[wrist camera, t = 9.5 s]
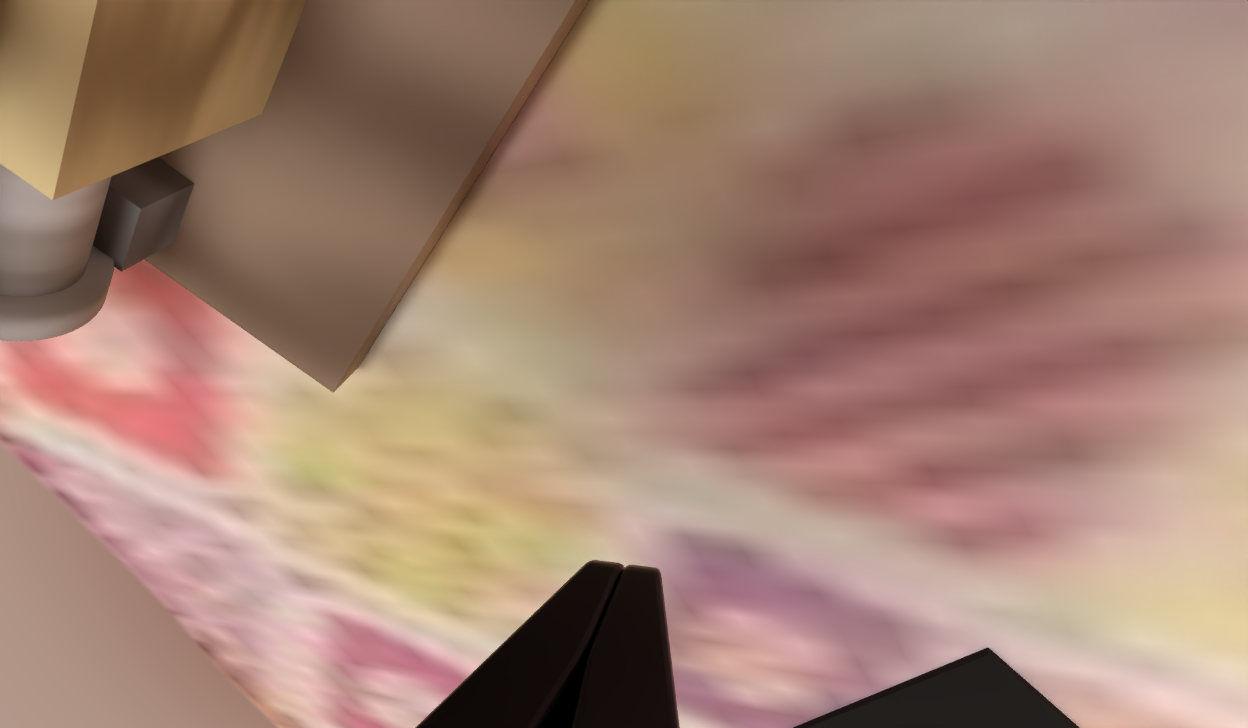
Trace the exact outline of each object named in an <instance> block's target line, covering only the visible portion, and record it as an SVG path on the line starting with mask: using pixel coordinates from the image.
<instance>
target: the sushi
mask: <svg viewBox="0 0 1248 728" xmlns="http://www.w3.org/2000/svg"><path fill="white" fill-rule="evenodd" d="M794 728H1079V727H1078V726H1077V725H1076V724H1074V723H1073V722H1072V721H1071V720H1070V719H1069V718H1068V717H1067V716H1065V715H1064V714H1063V713H1062V712H1061V711H1060V710H1059V709H1057V708H1056V707H1055V706H1054V705H1053V704H1052V703H1051V702H1049V701H1048V700H1047V699H1046V698H1045V697H1044V696H1043V695H1042V694H1040V693H1039V692H1038V691H1037V690H1036V689H1035V688H1034V687H1032V686H1031V685H1030V684H1029V683H1028V682H1027V681H1026V680H1025V679H1023V678H1022V677H1021V676H1020V675H1019V674H1018V673H1017V672H1015V671H1014V670H1013V669H1012V668H1011V667H1010V666H1009V665H1007V664H1006V663H1005V662H1004V661H1003V660H1002V659H1001V658H1000V657H998V656H997V655H996V654H995V653H994V652H993V651H992V650H990V649H989V648H986V649H983V650H981V651H978V652H976V653H973V654H971V655H969V656H966V657H964V658H961V659H959V660H956V661H954V662H952V663H949V664H947V665H944V666H942V667H939V668H937V669H935V670H932V671H930V672H927V673H925V674H922V675H920V676H918V677H915V678H913V679H910V680H908V681H905V682H903V683H901V684H898V685H896V686H893V687H891V688H888V689H886V690H884V691H881V692H879V693H876V694H874V695H871V696H869V697H867V698H864V699H862V700H859V701H857V702H854V703H852V704H850V705H847V706H845V707H842V708H840V709H837V710H835V711H833V712H830V713H828V714H825V715H823V716H820V717H818V718H816V719H813V720H811V721H808V722H806V723H803V724H801V725H799V726H796V727H794Z"/></svg>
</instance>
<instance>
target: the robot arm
mask: <svg viewBox="0 0 1248 728" xmlns="http://www.w3.org/2000/svg"><path fill="white" fill-rule="evenodd" d="M416 728H680V727H679V719H678V711H677V702H676V694H675V686H674V677H673V669H672V661H671V652H670V644H669V636H668V627H667V619H666V611H665V602H664V594H663V586H662V577H661V572H660V571H659V569H657V568H653V567H646V566H638V565H628V566H626V567H624V566H623V565H622V564H620V563H615V562H607V561H599V560H592V561H589V562H587V563H586V564H585V565H584V566H583V567H582V568H581V569H580V570H579V571H578V572H576V573H575V574H574V575H573V576H572V577H571V578H570V579H569V580H568V581H567V582H566V583H565V584H564V585H563V586H562V587H561V588H560V589H559V590H558V591H557V592H556V593H555V594H554V595H553V596H552V597H551V598H550V599H548V600H547V601H546V602H545V603H544V604H543V605H542V606H541V607H540V608H539V609H538V610H537V611H536V612H535V613H534V614H533V615H532V616H531V617H530V618H529V619H528V620H527V621H526V622H525V623H524V624H523V625H522V626H520V627H519V628H518V629H517V630H516V631H515V632H514V633H513V634H512V635H511V636H510V637H509V638H508V639H507V640H506V641H505V642H504V643H503V644H502V645H501V646H500V647H499V648H498V649H497V650H496V651H495V652H493V653H492V654H491V655H490V656H489V657H488V658H487V659H486V660H485V661H484V662H483V663H482V664H481V665H480V666H479V667H478V668H477V669H476V670H475V671H474V672H473V673H472V674H471V675H470V676H469V677H468V678H467V679H465V680H464V681H463V682H462V683H461V684H460V685H459V686H458V687H457V688H456V689H455V690H454V691H453V692H452V693H451V694H450V695H449V696H448V697H447V698H446V699H445V700H444V701H443V702H442V703H441V704H440V705H439V706H437V707H436V708H435V709H434V710H433V711H432V712H431V713H430V714H429V715H428V716H427V717H426V718H425V719H424V720H423V721H422V722H421V723H420V724H419V725H418V726H417V727H416Z"/></svg>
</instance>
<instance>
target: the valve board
mask: <svg viewBox="0 0 1248 728" xmlns="http://www.w3.org/2000/svg"><path fill="white" fill-rule="evenodd" d="M588 1H589V0H0V340H4V341H33V340H41V339H48V338H53V337H57V336H61V335H64V334H66V333H69V332H72V331H74V330H76V329H78V328H80V327H82V326H83V325H85V324H86V323H88V322H89V321H90V320H91V319H93V318H94V317H95V316H96V315H97V313H98V312H99V311H100V309H101V308H102V306H103V304H104V301H105V299H106V295H107V292H108V289H109V285H110V282H111V279H112V275H113V271H114V266H115V267H116V268H117V269H119V270H120V271H123V270H125V269H127V268H129V267H130V266H132V265H134V264H136V263H138V262H139V261H141V260H143V259H145V260H146V261H148V262H149V263H150V264H152V265H153V266H155V267H156V268H158V269H159V270H160V271H162V272H163V273H165V274H166V275H167V276H169V277H170V278H172V279H173V280H175V281H176V282H177V283H179V284H180V285H182V286H183V287H184V288H186V289H187V290H189V291H190V292H192V293H193V294H194V295H196V296H197V297H199V298H200V299H201V300H203V301H204V302H206V303H207V304H209V305H210V306H211V307H213V308H214V309H216V310H217V311H218V312H220V313H221V314H223V315H224V316H225V317H227V318H228V319H230V320H231V321H233V322H234V323H235V324H237V325H238V326H240V327H241V328H242V329H244V330H245V331H247V332H248V333H250V334H251V335H252V336H254V337H255V338H257V339H258V340H259V341H261V342H262V343H264V344H265V345H267V346H268V347H269V348H271V349H272V350H274V351H275V352H276V353H278V354H279V355H281V356H282V357H284V358H285V359H286V360H288V361H289V362H291V363H292V364H293V365H295V366H296V367H298V368H299V369H301V370H302V371H303V372H305V373H306V374H308V375H309V376H310V377H312V378H313V379H315V380H316V381H317V382H319V383H320V384H322V385H323V386H325V387H326V388H327V389H329V390H330V391H332V392H334V391H335V390H336V389H337V388H338V387H339V386H340V385H341V384H342V383H343V382H344V381H345V380H346V379H347V378H348V377H349V376H350V375H351V374H352V373H353V372H354V371H355V370H356V369H357V368H358V367H359V365H360V364H361V362H362V360H363V359H364V357H365V356H366V354H367V352H368V351H369V349H370V348H371V346H372V345H373V343H374V341H375V340H376V338H377V337H378V335H379V333H380V332H381V330H382V329H383V327H384V325H385V324H386V322H387V321H388V319H389V317H390V316H391V314H392V313H393V311H394V310H395V308H396V306H397V305H398V303H399V302H400V300H401V298H402V297H403V295H404V294H405V292H406V290H407V289H408V287H409V286H410V284H411V283H412V281H413V279H414V278H415V276H416V275H417V273H418V271H419V270H420V268H421V267H422V265H423V263H424V262H425V260H426V259H427V257H428V255H429V254H430V252H431V251H432V249H433V248H434V246H435V244H436V243H437V241H438V240H439V238H440V236H441V235H442V233H443V232H444V230H445V228H446V227H447V225H448V224H449V222H450V220H451V219H452V217H453V216H454V214H455V213H456V211H457V209H458V208H459V206H460V205H461V203H462V201H463V200H464V198H465V197H466V195H467V193H468V192H469V190H470V189H471V187H472V186H473V184H474V182H475V181H476V179H477V178H478V176H479V174H480V173H481V171H482V170H483V168H484V166H485V165H486V163H487V162H488V160H489V158H490V157H491V155H492V154H493V152H494V151H495V149H496V147H497V146H498V144H499V143H500V141H501V139H502V138H503V136H504V135H505V133H506V131H507V130H508V128H509V127H510V125H511V123H512V122H513V120H514V119H515V117H516V116H517V114H518V112H519V111H520V109H521V108H522V106H523V104H524V103H525V101H526V100H527V98H528V96H529V95H530V93H531V92H532V90H533V89H534V87H535V85H536V84H537V82H538V81H539V79H540V77H541V76H542V74H543V73H544V71H545V69H546V68H547V66H548V65H549V63H550V61H551V60H552V58H553V57H554V55H555V54H556V52H557V50H558V49H559V47H560V46H561V44H562V42H563V41H564V39H565V38H566V36H567V34H568V33H569V31H570V30H571V28H572V27H573V25H574V23H575V22H576V20H577V19H578V17H579V15H580V14H581V12H582V11H583V9H584V7H585V6H586V4H587V3H588Z"/></svg>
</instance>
